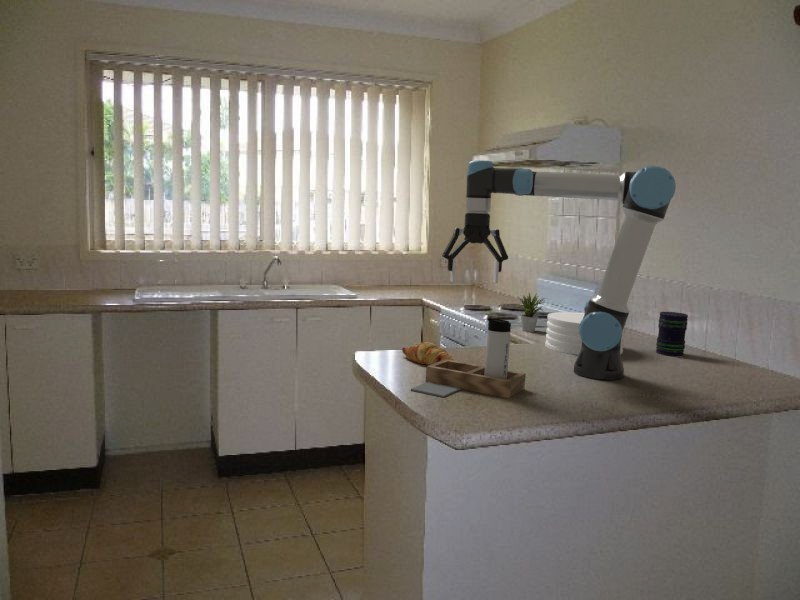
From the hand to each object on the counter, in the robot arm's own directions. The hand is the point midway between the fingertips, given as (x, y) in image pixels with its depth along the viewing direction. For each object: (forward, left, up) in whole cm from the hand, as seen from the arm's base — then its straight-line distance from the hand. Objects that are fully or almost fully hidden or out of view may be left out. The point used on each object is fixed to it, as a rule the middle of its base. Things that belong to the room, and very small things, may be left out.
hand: (473, 282), depth 215 cm
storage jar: (-47, -74, -27) cm, 92 cm away
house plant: (+9, -78, -27) cm, 83 cm away
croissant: (+13, +3, -27) cm, 30 cm away
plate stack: (-19, -60, -27) cm, 69 cm away
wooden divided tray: (-11, +19, -27) cm, 34 cm away
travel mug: (-17, +19, -27) cm, 37 cm away
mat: (-5, +31, -27) cm, 41 cm away
